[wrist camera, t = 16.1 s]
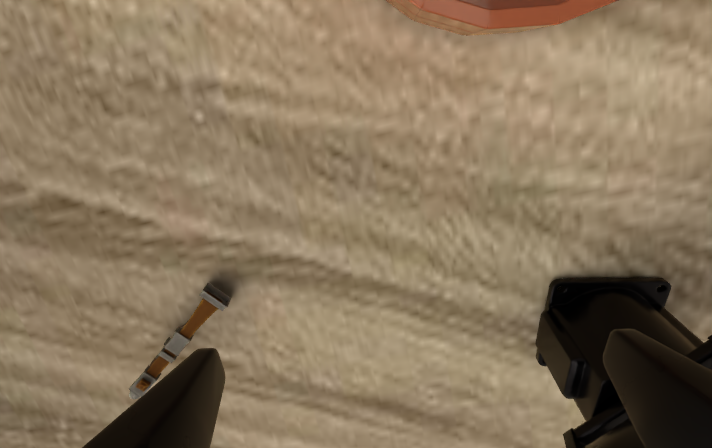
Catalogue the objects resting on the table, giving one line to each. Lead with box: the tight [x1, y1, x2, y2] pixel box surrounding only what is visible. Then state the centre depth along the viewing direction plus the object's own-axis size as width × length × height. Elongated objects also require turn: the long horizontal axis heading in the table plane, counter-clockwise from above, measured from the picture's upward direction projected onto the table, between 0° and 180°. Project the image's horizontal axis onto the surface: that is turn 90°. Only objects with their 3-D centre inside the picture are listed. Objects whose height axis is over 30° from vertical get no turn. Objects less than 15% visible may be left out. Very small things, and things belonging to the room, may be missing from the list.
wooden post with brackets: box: [129, 283, 231, 399], centre depth 24 cm, size 2×8×4 cm, turn 139°
